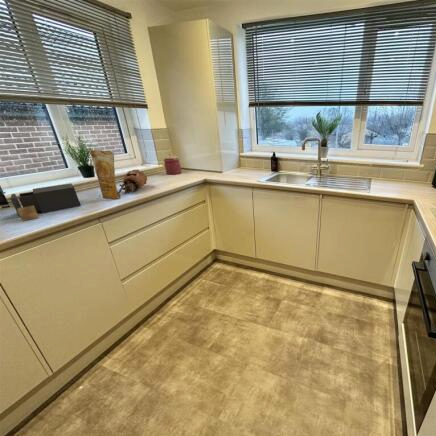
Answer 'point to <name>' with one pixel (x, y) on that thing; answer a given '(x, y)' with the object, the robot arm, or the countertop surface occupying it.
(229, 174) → the countertop surface
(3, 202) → the robot arm
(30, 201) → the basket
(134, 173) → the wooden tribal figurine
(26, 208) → the block
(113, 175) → the pancake mix bag
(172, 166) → the kitchen canister
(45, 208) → the dark grey slanted block
